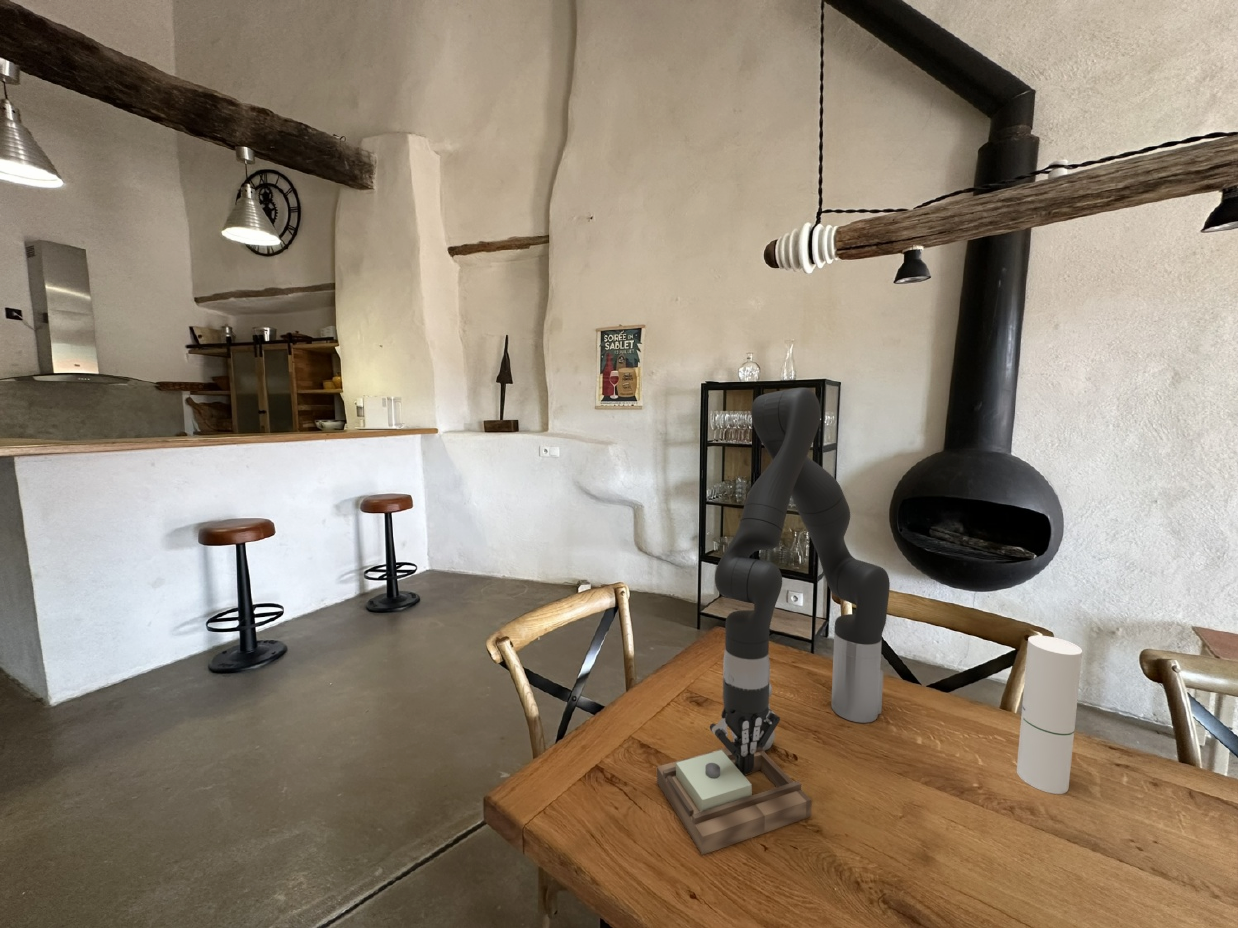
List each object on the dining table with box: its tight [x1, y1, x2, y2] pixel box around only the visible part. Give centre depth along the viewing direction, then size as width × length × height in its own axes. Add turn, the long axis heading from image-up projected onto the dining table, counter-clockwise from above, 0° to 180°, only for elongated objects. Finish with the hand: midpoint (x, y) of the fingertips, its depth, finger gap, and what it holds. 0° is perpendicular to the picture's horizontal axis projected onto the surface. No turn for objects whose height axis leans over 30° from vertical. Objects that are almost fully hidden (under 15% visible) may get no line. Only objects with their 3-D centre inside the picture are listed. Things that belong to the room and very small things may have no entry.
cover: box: [676, 750, 753, 812], centre depth 86 cm, size 9×9×4 cm
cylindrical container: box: [1016, 635, 1083, 795], centre depth 91 cm, size 7×7×25 cm
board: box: [656, 747, 812, 856], centre depth 88 cm, size 20×16×4 cm
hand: (744, 771), depth 88 cm, fingers closed
